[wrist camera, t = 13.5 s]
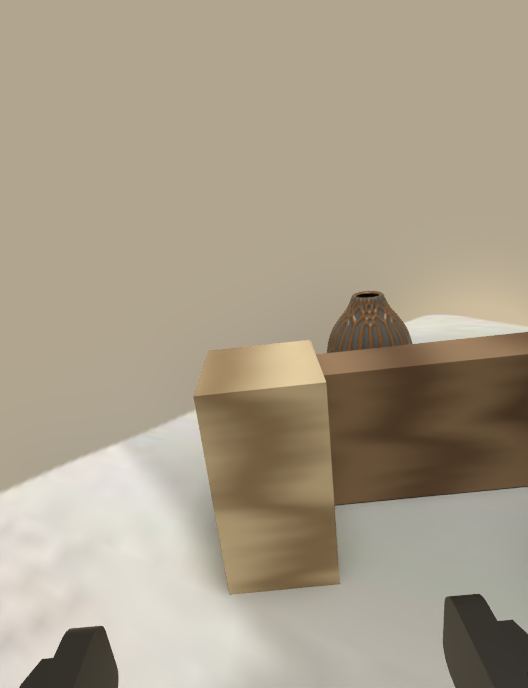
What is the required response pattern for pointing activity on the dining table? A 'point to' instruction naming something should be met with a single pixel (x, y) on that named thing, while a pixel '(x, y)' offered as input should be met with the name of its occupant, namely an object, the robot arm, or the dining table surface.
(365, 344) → the vase
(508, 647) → the robot arm
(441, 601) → the dining table surface
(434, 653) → the dining table surface
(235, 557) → the maple block
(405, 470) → the walnut board
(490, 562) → the dining table surface
